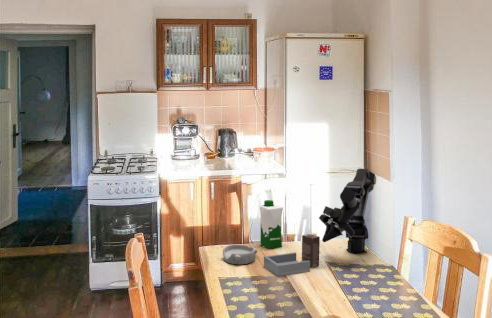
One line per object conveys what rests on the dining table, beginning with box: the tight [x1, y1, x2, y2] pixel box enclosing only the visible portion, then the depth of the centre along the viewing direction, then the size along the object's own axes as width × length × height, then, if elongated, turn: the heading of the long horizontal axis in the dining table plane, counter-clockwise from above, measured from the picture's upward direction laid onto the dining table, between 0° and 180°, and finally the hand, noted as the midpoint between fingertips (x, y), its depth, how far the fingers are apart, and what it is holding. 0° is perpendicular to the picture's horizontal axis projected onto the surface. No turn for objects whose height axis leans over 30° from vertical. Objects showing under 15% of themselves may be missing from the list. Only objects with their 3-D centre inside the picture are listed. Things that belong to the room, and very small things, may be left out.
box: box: [301, 233, 321, 269], centre depth 224 cm, size 6×4×12 cm
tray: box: [263, 252, 311, 277], centre depth 220 cm, size 14×12×4 cm
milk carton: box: [259, 199, 284, 250], centre depth 249 cm, size 9×9×20 cm
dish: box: [222, 243, 258, 266], centre depth 232 cm, size 14×14×5 cm
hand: (323, 241), depth 225 cm, fingers closed
